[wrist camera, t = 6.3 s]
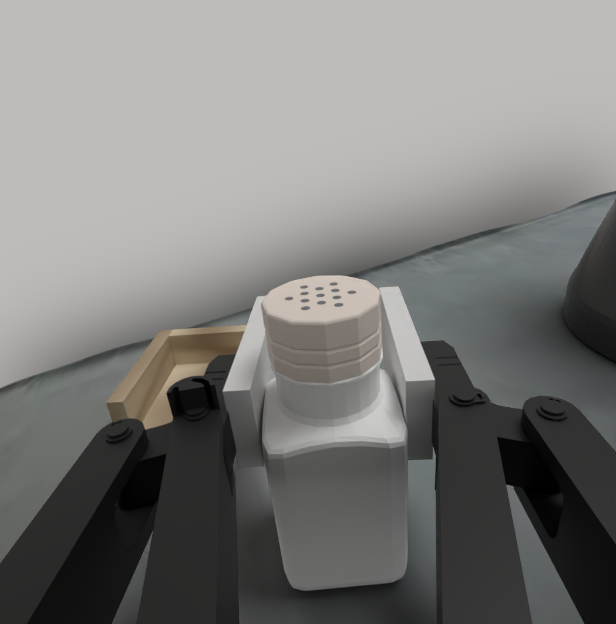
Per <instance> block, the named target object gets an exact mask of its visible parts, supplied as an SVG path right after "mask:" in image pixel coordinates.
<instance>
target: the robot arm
mask: <svg viewBox="0 0 616 624" xmlns="http://www.w3.org/2000/svg"><path fill="white" fill-rule="evenodd" d="M379 290H380V292H381V324H382V329H381V333H382V350H383V359H384V364H385V368H386V371H387V373H388V375H389V377H390V379H391V381H392V384H393V386H394V389H395V391H396V394H397V397H398V400H399V403H400V406H401V409H402V412H403V416H404V419H405V423H406V426H407V430H408V460H424V459H432V456H433V447H434V451H435V454H436V473H435V490H436V582H437V624H532V621H531V615H530V610H529V605H528V599H527V594H526V589H525V583H524V578H523V573H522V567H521V562H520V557H519V552H518V546H517V541H516V536H515V530H514V525H513V520H512V514H511V509H510V504H509V498H508V493H507V488H506V484H507V485H511V486H513V487H514V490H515V492H516V494H517V496H518V498H519V500H520V502H521V504H522V505H523V507H524V509H525V511H526V513H527V515H528V517H529V519H530V521H531V523H532V524H533V526H534V528H535V530H536V532H537V534H538V536H539V538H540V540H541V542H542V544H543V545H544V547H545V549H546V551H547V553H548V555H549V557H550V559H551V561H552V563H553V564H554V566H555V568H556V570H557V572H558V574H559V576H560V578H561V580H562V582H563V583H564V585H565V587H566V589H567V591H568V593H569V595H570V597H571V599H572V601H573V603H574V604H575V606H576V608H577V610H578V612H579V614H580V616H581V618H582V620H583V622H584V623H585V624H616V451H615V450H614V449H613V448H612V447H611V446H610V445H609V444H608V442H607V441H606V440H605V439H604V438H603V437H602V436H601V434H600V433H599V432H598V431H597V430H596V429H595V428H594V426H593V425H592V424H591V423H590V422H589V421H588V420H587V418H586V417H585V416H584V415H583V414H582V413H581V412H580V410H578V409H577V408H576V407H575V406H574V405H572V404H571V403H569V402H566V401H564V400H562V399H559V398H554V397H550V396H538V397H533V398H530V399H528V400H527V401H525V403H524V406H523V409H516V408H509V407H504V406H499V405H496V404H493V403H490V400H489V398H488V396H487V395H486V394H485V393H484V392H482V391H481V390H479V389H477V388H474V387H473V385H472V383H471V381H470V379H469V377H468V375H467V373H466V371H465V369H464V367H463V366H462V365H461V362H460V360H459V358H458V356H457V354H456V352H455V350H454V348H453V347H452V346H450V345H449V344H447V343H446V342H444V341H426V342H420V340H419V338H418V335H417V332H416V330H415V327H414V325H413V322H412V320H411V317H410V315H409V312H408V310H407V307H406V304H405V302H404V299H403V297H402V294H401V292H400V289H399V287H384V288H379ZM265 297H266V296H258V297H257V299H256V302H255V304H254V307H253V310H252V313H251V315H250V318H249V321H248V323H247V326H246V329H245V332H244V334H243V337H242V340H241V342H240V345H239V348H238V351H237V353H236V354H231V355H218V356H217V357H216V358H215V359H213V360H212V361H211V362H210V363H209V364H208V367H207V369H206V371H205V374H204V375H203V376H191V377H187V378H184V379H181V380H179V381H177V382H175V383H174V384H173V385H172V386H171V387H169V389H168V391H167V393H166V394H167V398H168V401H169V405H170V408H171V412H172V416H173V420H172V422H170V423H167V424H164V425H161V426H157V427H153V428H149V429H145V428H144V425H143V422H141V421H140V420H138V419H132V418H128V419H121V420H118V421H115V422H112V423H110V424H109V425H107V426H105V427H104V428H102V429H101V430H100V431H99V432H98V433H97V434H96V435H95V437H94V438H93V439H92V441H91V442H90V443H89V445H88V446H87V447H86V449H85V450H84V452H83V453H82V454H81V456H80V457H79V458H78V460H77V461H76V462H75V464H74V465H73V466H72V468H71V469H70V470H69V472H68V473H67V474H66V476H65V477H64V478H63V480H62V481H61V482H60V484H59V485H58V487H57V488H56V489H55V491H54V492H53V493H52V495H51V496H50V497H49V499H48V500H47V501H46V503H45V504H44V505H43V507H42V508H41V509H40V511H39V512H38V513H37V515H36V516H35V517H34V519H33V520H32V521H31V523H30V524H29V526H28V527H27V528H26V530H25V531H24V532H23V534H22V535H21V536H20V538H19V539H18V540H17V542H16V543H15V544H14V546H13V547H12V548H11V550H10V551H9V552H8V554H7V555H6V556H5V558H4V559H3V560H2V562H1V563H0V624H112V621H113V619H114V617H115V615H116V612H117V610H118V608H119V606H120V603H121V601H122V599H123V597H124V594H125V592H126V590H127V587H128V585H129V583H130V581H131V578H132V576H133V574H134V572H135V569H136V567H137V565H138V563H139V560H140V558H141V556H142V554H143V551H144V549H145V547H146V545H147V542H148V540H149V538H150V536H151V533H152V531H153V534H152V540H151V546H150V552H149V557H148V563H147V569H146V574H145V580H144V586H143V592H142V597H141V603H140V609H139V614H138V620H137V624H239V602H238V564H237V527H236V489H235V475H234V470H233V462H234V458H235V455H236V457H237V462H238V467H253V466H264V455H263V450H262V421H263V407H264V399H265V392H266V387H267V383H268V382H269V381H270V380H272V379H274V378H275V373H274V372H273V371H272V369H271V366H270V360H269V354H268V348H267V344H268V343H267V340H266V334H265V330H266V329H265V327H264V322H263V315H262V309H261V303H262V301H263V300H264V299H265ZM563 316H564V320H565V322H566V324H567V326H568V327H569V328H570V330H571V331H572V332H573V333H574V334H575V335H576V336H577V337H578V338H579V339H580V340H582V341H583V342H584V343H586V344H587V345H588V346H590V347H591V348H593V349H594V350H596V351H598V352H599V353H601V354H603V355H605V356H607V357H608V358H610V359H612V360H614V361H616V199H615V201H614V203H613V205H612V207H611V208H610V210H609V212H608V213H607V215H606V217H605V218H604V220H603V222H602V224H601V225H600V227H599V229H598V230H597V232H596V234H595V235H594V237H593V239H592V241H591V242H590V244H589V246H588V248H587V249H586V251H585V253H584V255H583V257H582V259H581V260H580V262H579V264H578V266H577V268H576V269H575V270H574V272H573V273H572V275H571V277H570V280H569V282H568V286H567V292H566V298H565V304H564V310H563Z"/></svg>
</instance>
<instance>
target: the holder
mask: <svg viewBox="0 0 616 624" xmlns="http://www.w3.org/2000/svg"><path fill="white" fill-rule="evenodd" d="M246 326H247V325H239V326H223V327H208V328H193V329H178V330H163V331H160V332H159V333H158V334H157V336H156V337H155V338H154V340H153V341H152V342H151V344H150V345H149V346H148V348H147V349H146V350H145V352H144V353H143V354H142V356H141V357H140V358H139V360H138V361H137V362H136V364H135V365H134V366H133V368H132V369H131V370H130V372H129V373H128V374H127V376H126V377H125V378H124V380H123V381H122V382H121V384H120V385H119V386H118V388H117V389H116V390H115V392H114V393H113V394H112V396H111V397H110V398H109V400H108V401H107V402H106V403H107V406H108V409H109V412H110V415H111V418H112V420H113V422H115V421H118V420H121V419H128V418H132V419H138V420H140V421H141V422H143V425H144V428H145V429H149V428H153V427H157V426H161V425H164V424H167V423H170V422H172V420H173V416H172V412H171V408H170V405H169V401H168V398H167V394H166V393H167V391H168V389H169V387H171V386H172V385H173V384H174V383H175V382H177V381H179V380H181V379H184V378H187V377H191V376H203V375H204V374H205V371H206V369H207V367H208V364H209V363H210V362H211V361H212V360H213V359H215V358H216V357H217V356H218V355H231V354H236V353H237V351H238V348H239V345H240V342H241V340H242V337H243V334H244V332H245V329H246Z"/></svg>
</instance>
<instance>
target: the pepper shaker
mask: <svg viewBox="0 0 616 624" xmlns="http://www.w3.org/2000/svg"><path fill="white" fill-rule="evenodd" d="M261 309H262V315H263V322H264V327H265V329H266V330H265V334H266V340H267V343H268V344H267V348H268V354H269V360H270V366H271V369H272V371H273V372H274V373H275V378H274V379H272V380H270V381H269V382H268V383H267V387H266V392H265V399H264V407H263V421H262V450H263V455H264V461H265V466H266V472H267V478H268V483H269V489H270V494H271V500H272V505H273V511H274V516H275V522H276V528H277V533H278V539H279V544H280V550H281V555H282V561H283V566H284V572H285V574H286V576H287V579H288V581H289V583H290V585H291V586H292V587H293V588H295V589H299V590H303V591H310V590H320V589H331V588H341V587H352V586H362V585H373V584H383V583H392V582H394V581H396V580H399V579H401V578H402V577H403V576H404V574H405V572H406V566H407V561H408V430H407V426H406V423H405V419H404V416H403V412H402V409H401V406H400V403H399V400H398V397H397V394H396V391H395V389H394V386H393V384H392V381H391V379H390V377H389V375H388V373H387V371H385V370H383V369H380V363H381V361H382V358H383V350H382V333H381V329H382V324H381V292H380V290H378V289H377V288H376V287H374V286H373V285H372V284H371V283H369V282H368V281H366V280H361V279H357V278H352V277H348V276H314V277H309V278H304V279H299V280H294V281H291V282H288V283H286V284H284V285H282V286H280V287H277V288H275V289H273V290H271V291H270V292H269V293H268V295H267V296H266V297H265V299H264V300H263V301H262V303H261Z"/></svg>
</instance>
